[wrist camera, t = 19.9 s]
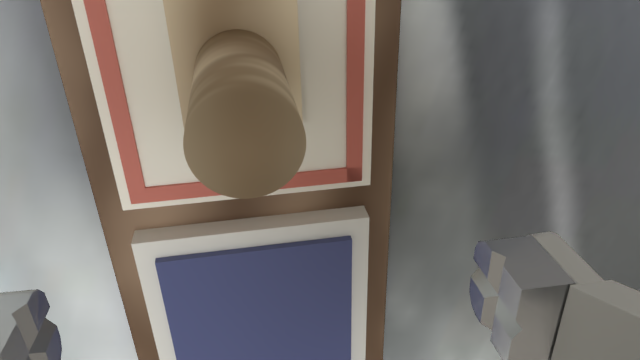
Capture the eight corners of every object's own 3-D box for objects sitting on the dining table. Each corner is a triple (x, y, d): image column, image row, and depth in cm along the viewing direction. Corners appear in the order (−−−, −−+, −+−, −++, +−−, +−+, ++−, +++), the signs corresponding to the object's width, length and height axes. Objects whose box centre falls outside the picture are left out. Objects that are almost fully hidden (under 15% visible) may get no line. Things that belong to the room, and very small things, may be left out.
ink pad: (363, 205, 28) (371, 221, 27) (360, 371, 34) (366, 391, 33) (134, 230, 26) (129, 249, 25) (175, 400, 33) (173, 422, 31)
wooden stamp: (289, -31, 22) (329, 15, 13) (297, 125, 25) (333, 236, 17) (166, -24, 21) (131, 27, 13) (191, 134, 24) (176, 254, 16)
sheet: (378, -134, 20) (380, -134, 20) (369, 183, 27) (371, 186, 27) (40, -128, 19) (38, -128, 19) (123, 209, 26) (122, 212, 26)
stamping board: (401, -142, 21) (408, -144, 20) (377, 367, 36) (381, 378, 35) (12, -135, 19) (2, -137, 18) (155, 400, 34) (153, 414, 33)
